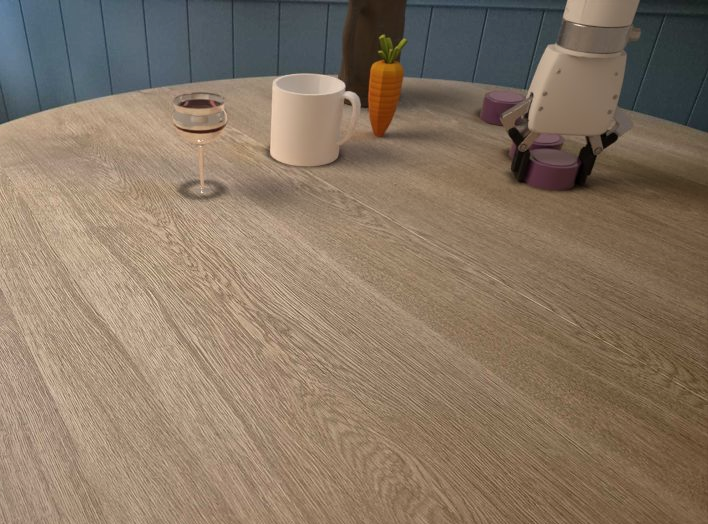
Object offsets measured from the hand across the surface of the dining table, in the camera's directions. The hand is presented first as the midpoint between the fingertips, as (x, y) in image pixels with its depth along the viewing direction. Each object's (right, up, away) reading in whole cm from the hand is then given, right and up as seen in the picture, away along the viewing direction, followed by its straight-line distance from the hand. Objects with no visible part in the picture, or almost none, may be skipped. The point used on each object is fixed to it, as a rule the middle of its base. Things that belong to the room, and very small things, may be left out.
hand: (547, 177), depth 89 cm
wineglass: (-47, -3, -3) cm, 47 cm away
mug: (-31, +5, +7) cm, 32 cm away
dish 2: (+1, +4, +7) cm, 8 cm away
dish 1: (+2, +15, +21) cm, 26 cm away
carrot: (-20, +9, +13) cm, 26 cm away
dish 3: (0, -1, +1) cm, 1 cm away
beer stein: (-20, +21, +28) cm, 40 cm away
